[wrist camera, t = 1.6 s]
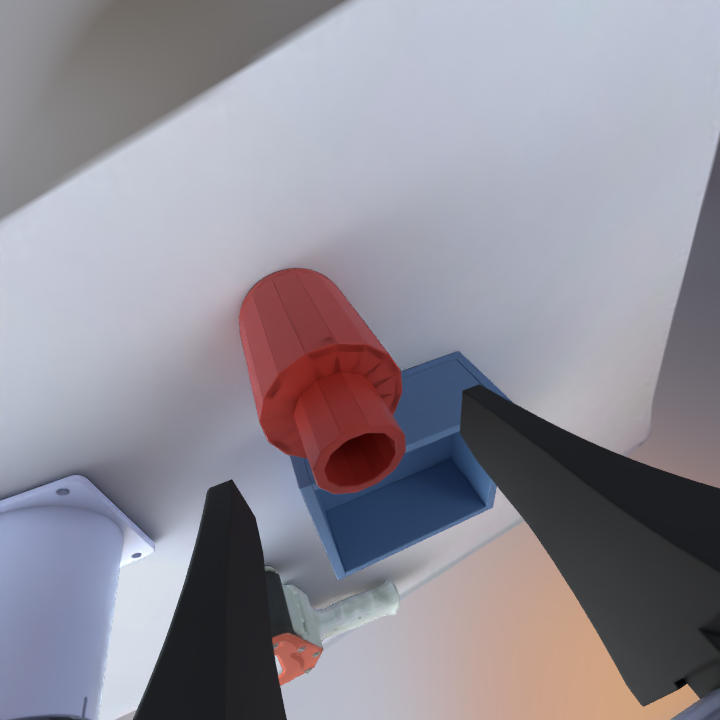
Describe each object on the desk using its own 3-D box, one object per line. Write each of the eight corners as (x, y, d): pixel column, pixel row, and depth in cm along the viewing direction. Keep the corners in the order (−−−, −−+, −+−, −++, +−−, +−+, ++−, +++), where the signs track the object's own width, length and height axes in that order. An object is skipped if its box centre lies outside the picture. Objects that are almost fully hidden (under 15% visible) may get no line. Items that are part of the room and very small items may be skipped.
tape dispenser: (392, 567, 41) (313, 511, 27) (417, 617, 38) (340, 581, 24) (261, 660, 40) (109, 651, 26) (273, 721, 37) (104, 748, 23)
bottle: (258, 375, 19) (299, 537, 12) (222, 286, 15) (249, 437, 9) (351, 344, 20) (437, 477, 13) (335, 254, 16) (438, 367, 10)
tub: (316, 512, 27) (338, 580, 23) (278, 415, 21) (299, 489, 17) (453, 454, 30) (493, 507, 26) (458, 350, 23) (513, 402, 19)
